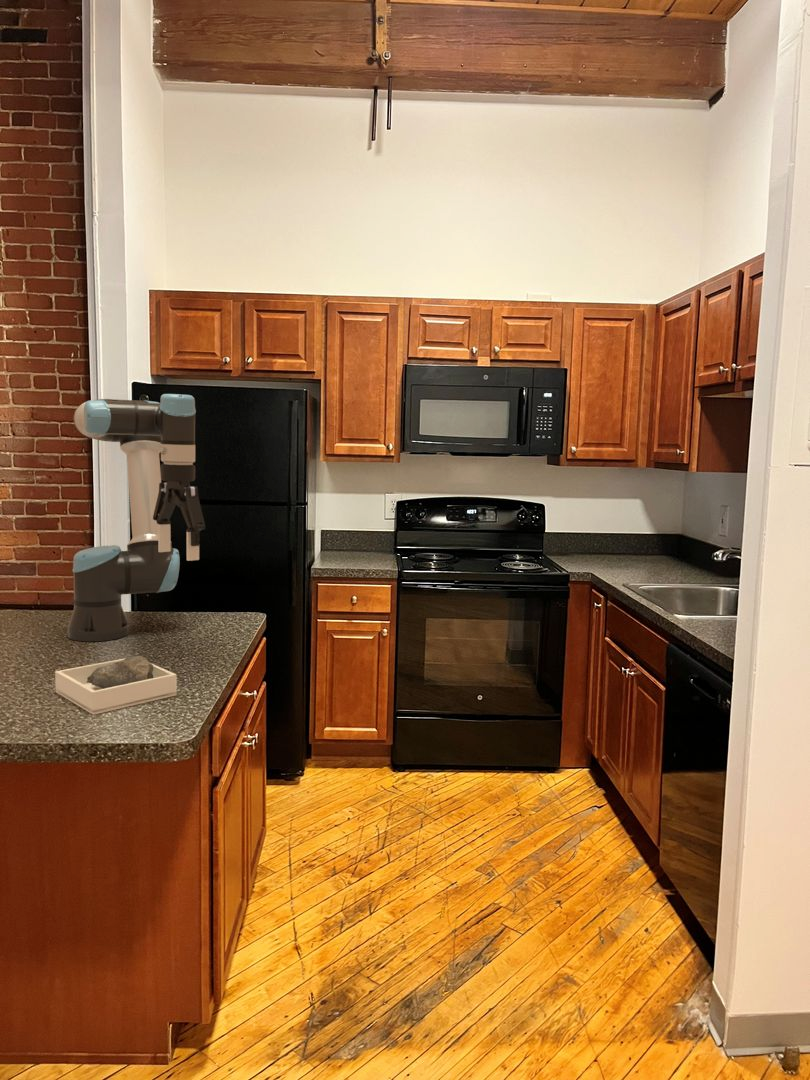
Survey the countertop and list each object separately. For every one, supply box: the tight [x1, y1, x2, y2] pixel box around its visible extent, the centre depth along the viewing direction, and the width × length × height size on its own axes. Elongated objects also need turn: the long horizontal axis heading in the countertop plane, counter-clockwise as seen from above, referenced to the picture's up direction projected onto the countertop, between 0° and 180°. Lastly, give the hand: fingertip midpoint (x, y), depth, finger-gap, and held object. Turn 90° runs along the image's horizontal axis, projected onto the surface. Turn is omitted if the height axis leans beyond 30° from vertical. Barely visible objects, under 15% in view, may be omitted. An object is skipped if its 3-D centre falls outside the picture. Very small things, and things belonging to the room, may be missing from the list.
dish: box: [54, 657, 178, 715], centre depth 160 cm, size 18×18×4 cm
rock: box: [87, 655, 154, 689], centre depth 161 cm, size 13×9×6 cm, turn 109°
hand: (178, 555), depth 179 cm, fingers open, 13 cm apart
